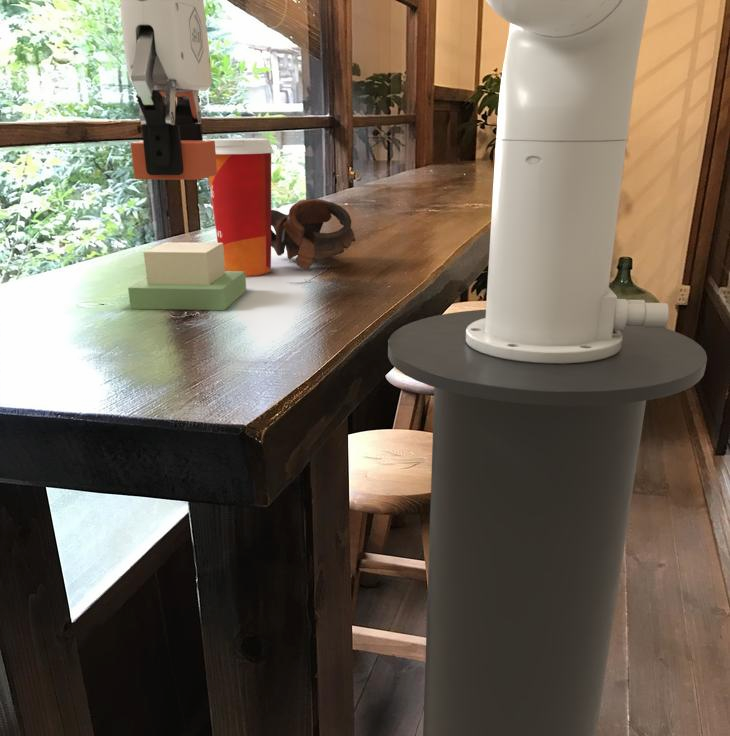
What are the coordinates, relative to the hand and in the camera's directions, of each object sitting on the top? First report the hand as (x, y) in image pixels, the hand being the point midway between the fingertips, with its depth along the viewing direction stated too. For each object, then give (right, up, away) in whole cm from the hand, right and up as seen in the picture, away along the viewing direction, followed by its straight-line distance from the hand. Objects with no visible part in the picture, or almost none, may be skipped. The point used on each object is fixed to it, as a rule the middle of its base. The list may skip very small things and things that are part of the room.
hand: (176, 169), depth 74 cm
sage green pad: (0, -11, +5) cm, 12 cm away
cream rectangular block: (0, -9, +4) cm, 10 cm away
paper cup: (+4, -5, +18) cm, 19 cm away
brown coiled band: (+10, -2, +23) cm, 26 cm away
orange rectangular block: (0, -1, 0) cm, 1 cm away
